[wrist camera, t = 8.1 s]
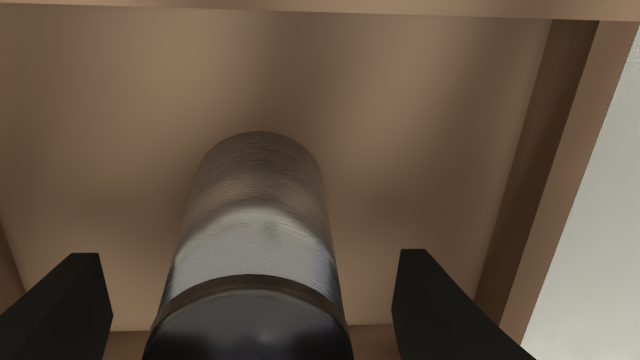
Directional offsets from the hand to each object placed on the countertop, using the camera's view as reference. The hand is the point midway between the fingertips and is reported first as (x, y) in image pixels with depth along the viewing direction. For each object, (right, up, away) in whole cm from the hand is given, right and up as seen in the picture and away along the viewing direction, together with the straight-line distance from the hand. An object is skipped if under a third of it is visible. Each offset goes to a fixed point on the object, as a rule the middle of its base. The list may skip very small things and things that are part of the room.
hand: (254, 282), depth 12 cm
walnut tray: (0, +2, +4) cm, 4 cm away
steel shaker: (0, +2, +3) cm, 4 cm away
